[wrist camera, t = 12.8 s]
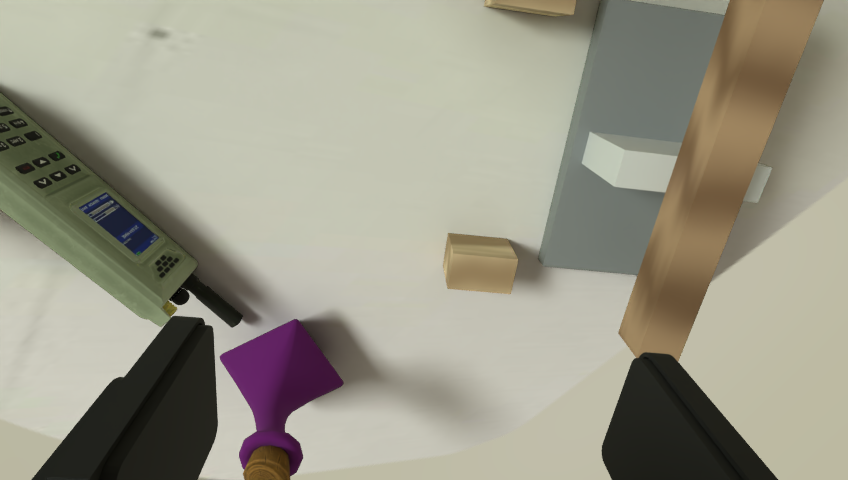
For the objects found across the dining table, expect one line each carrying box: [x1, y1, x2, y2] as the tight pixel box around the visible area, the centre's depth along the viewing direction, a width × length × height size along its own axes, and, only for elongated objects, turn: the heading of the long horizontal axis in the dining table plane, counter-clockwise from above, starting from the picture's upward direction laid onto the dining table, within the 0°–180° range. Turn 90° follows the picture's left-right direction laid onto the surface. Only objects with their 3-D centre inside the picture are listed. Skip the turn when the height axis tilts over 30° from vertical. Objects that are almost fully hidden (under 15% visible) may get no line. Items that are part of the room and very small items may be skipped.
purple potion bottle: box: [220, 319, 343, 480], centre depth 35 cm, size 8×8×18 cm
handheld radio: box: [0, 92, 243, 327], centre depth 35 cm, size 7×3×25 cm
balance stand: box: [538, 0, 772, 275], centre depth 35 cm, size 20×12×8 cm, turn 173°
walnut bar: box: [618, 0, 824, 361], centre depth 30 cm, size 24×3×3 cm, turn 173°
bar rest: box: [443, 0, 577, 294], centre depth 35 cm, size 23×5×4 cm, turn 173°
